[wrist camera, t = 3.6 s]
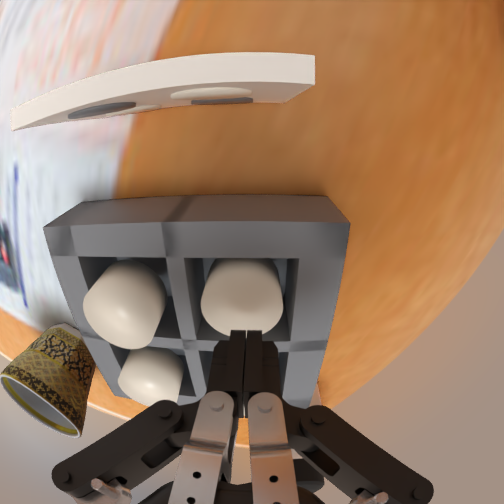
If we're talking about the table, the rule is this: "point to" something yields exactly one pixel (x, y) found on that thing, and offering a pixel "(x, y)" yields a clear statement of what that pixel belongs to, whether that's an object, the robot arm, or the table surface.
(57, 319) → the table surface
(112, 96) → the card
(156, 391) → the button
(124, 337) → the button
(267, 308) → the button
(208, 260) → the board
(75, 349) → the ceramic cup
